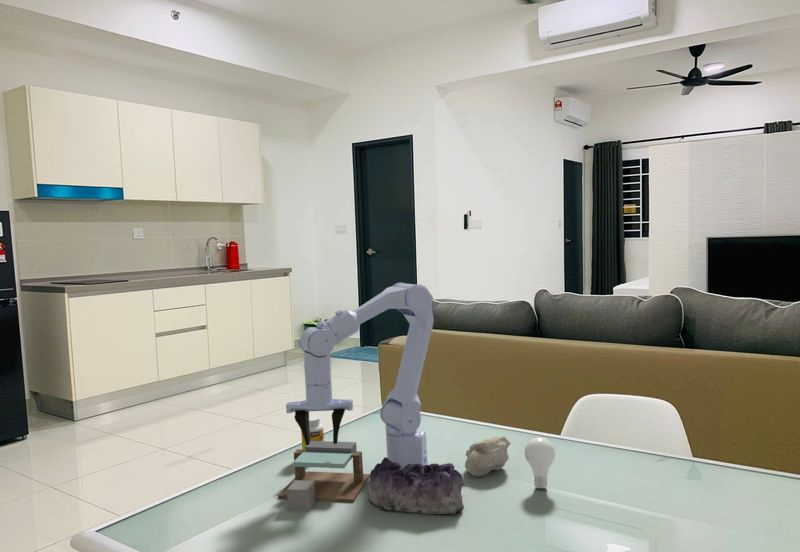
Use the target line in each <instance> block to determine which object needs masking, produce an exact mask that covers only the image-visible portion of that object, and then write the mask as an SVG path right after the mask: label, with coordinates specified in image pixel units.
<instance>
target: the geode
mask: <svg viewBox="0 0 800 552" xmlns="http://www.w3.org/2000/svg"><path fill="white" fill-rule="evenodd" d="M369 474H370V477H369V489H368V493H369V496H368V502H369V504H370V505H371V506H373V507H375V508H377V509H379V510H381V511H390V512H392V511H393V512H394V511H395V512H407V513H413V514H414V513H415V514H421V513H422V514H423V515H428V514H431V515H435V514H438V515H445V514H450V515H451V514H452V515H453V514H456V513H461V512H462V511H463V510H464V509H465V506H464V503H463V495H462V489H463V487H464V486H465V482H464V478H463V474H462V473H460V471H458V470H457V469H455V465H454V464H453V463H450V462H447V463H443V464H439V463H430V464H427V465H424V466H423V465H422V464H412V465H411V464H408V465H406V466H405V467H403V468H402V467H401V465H400V464H399V463H398V462H392V461H390V460H389V459H388V458H387V456H386V457H383V459H382V460H381V462H378V463H377V464H375V466H374V467H373V469H371V471H370V473H369Z"/></svg>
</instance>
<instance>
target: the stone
mask: <svg viewBox="0 0 800 552" xmlns="http://www.w3.org/2000/svg"><path fill="white" fill-rule="evenodd" d="M287 497H288V499H287V509H288V511H299V512H301V511H303V512H304V511H305V512H306V511H307V512H310V510H311V509H312V507H313V506H314V504H315V502H316V501H317V500H316V499H315V481H307V480H294V481H293V482H292V484H291V485H290V486H289V488H288V489H287Z"/></svg>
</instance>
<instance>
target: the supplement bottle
mask: <svg viewBox="0 0 800 552" xmlns="http://www.w3.org/2000/svg"><path fill="white" fill-rule="evenodd" d="M309 429H310V442H311V441H325V436H324V425H323V424H322V423H321V418H320V416H318V415H309ZM300 432H301V447H302V449H304V452H306V450H305V447H306V446H307V445H306V443H305V439H304V436H303V433H302V431H300Z"/></svg>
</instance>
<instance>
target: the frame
mask: <svg viewBox="0 0 800 552" xmlns="http://www.w3.org/2000/svg"><path fill="white" fill-rule="evenodd" d="M303 452H304V449H300V448H298V449H296V450H295V451H294V452H293V462H294V461H295V460H296V459H297V458H298V457H299V456H300V455H301V454H302V453H303ZM363 465H364V464H363V451H358V450H357V451H355V453H354V454H353V457H352V466H353V467H352V470H353V472H352V473H351V472H348V473H347V472H332V471H331V472H329V471H327V472H326V471H306V467H296V466H293V467H294V477H293V479H291V481H290V482H289V483H288V484H287V485H286V486H285V488H283V490H281V492H280V493H279V494H278V497H277V498H278V499H286V500H288V497H287V489H288V488H289V486H290V485H291V484H292V482H293V481H294V480H307V481H315V499H316V501H326V502H343V503H354V502H355V501H356V500H357V498H358V496H359V495H360V493H361V492H362V490H363V488H364V487H365V485H366V483H367V482H368V480H370V473H364V468H363V467H364V466H363Z"/></svg>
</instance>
